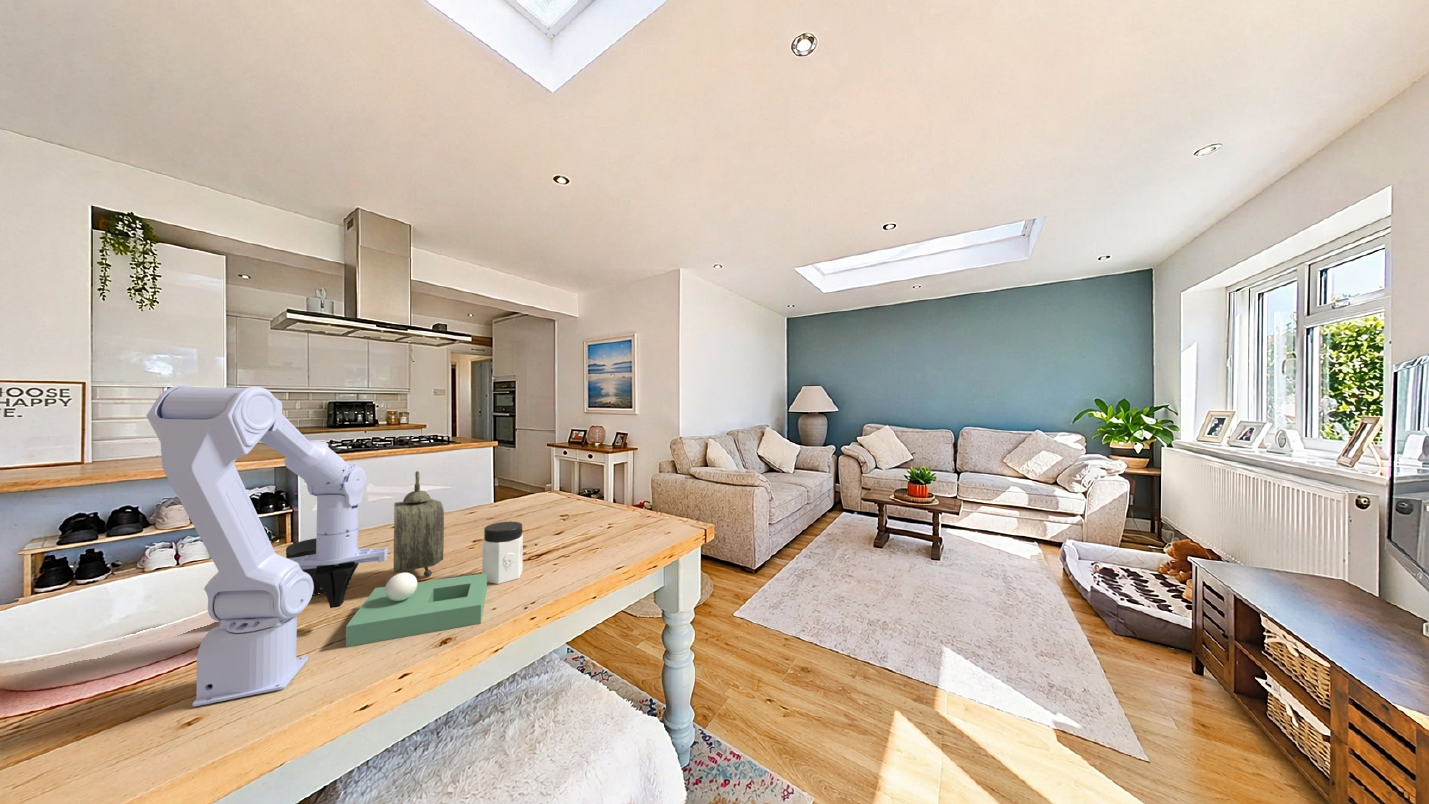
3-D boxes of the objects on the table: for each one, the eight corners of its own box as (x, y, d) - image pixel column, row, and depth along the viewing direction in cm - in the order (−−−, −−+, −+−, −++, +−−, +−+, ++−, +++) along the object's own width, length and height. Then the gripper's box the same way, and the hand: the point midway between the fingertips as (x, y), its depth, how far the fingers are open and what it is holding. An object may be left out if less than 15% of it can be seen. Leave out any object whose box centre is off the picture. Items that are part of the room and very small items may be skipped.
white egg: (381, 608, 78) (381, 580, 78) (388, 596, 83) (389, 570, 83) (414, 603, 81) (414, 576, 81) (419, 592, 85) (420, 567, 85)
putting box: (345, 647, 72) (346, 626, 72) (375, 605, 87) (375, 588, 87) (480, 623, 80) (480, 604, 80) (486, 588, 95) (487, 573, 95)
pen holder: (279, 603, 87) (280, 553, 87) (292, 586, 95) (292, 540, 95) (340, 592, 92) (340, 546, 92) (347, 577, 100) (348, 534, 100)
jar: (487, 587, 96) (488, 534, 96) (476, 576, 101) (477, 526, 101) (528, 576, 102) (529, 526, 102) (516, 566, 108) (517, 519, 108)
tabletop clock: (393, 573, 103) (394, 468, 103) (438, 564, 108) (439, 465, 108) (393, 595, 91) (395, 478, 91) (443, 585, 97) (445, 474, 97)
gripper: (392, 520, 84) (391, 589, 84) (295, 528, 78) (294, 602, 78) (382, 530, 78) (381, 605, 78) (275, 540, 72) (274, 621, 72)
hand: (336, 605), depth 78 cm, fingers closed
